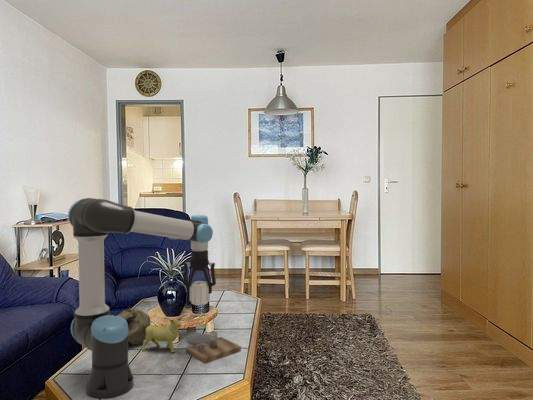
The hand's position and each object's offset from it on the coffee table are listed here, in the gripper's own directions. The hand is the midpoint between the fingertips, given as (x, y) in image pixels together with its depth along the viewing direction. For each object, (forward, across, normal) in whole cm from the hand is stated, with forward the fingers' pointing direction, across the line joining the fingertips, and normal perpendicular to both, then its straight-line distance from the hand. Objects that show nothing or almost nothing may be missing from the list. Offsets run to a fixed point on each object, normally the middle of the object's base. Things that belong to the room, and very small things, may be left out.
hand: (199, 300), depth 186 cm
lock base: (+18, -8, +13) cm, 24 cm away
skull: (+18, +30, +6) cm, 35 cm away
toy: (+18, +13, +13) cm, 26 cm away
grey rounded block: (+1, 0, 0) cm, 1 cm away
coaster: (+18, 0, 0) cm, 18 cm away
